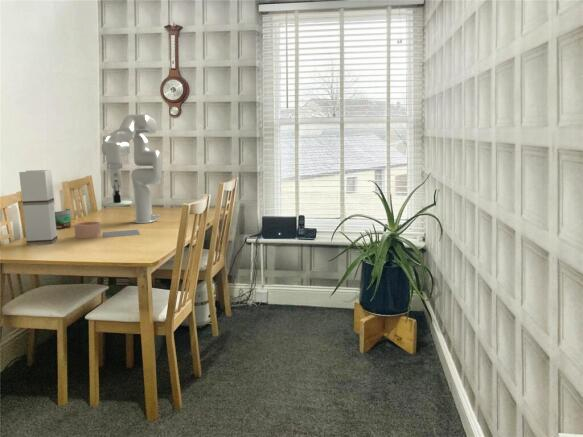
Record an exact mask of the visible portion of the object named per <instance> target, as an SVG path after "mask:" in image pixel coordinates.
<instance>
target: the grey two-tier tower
mask: <svg viewBox="0 0 583 437" xmlns="http://www.w3.org/2000/svg"><path fill="white" fill-rule="evenodd" d="M18 175H19V182H20V184H19V185H20V192H21V201H22V202H21V203H22V204H21V205H22V210H23V211H22V212H23V221H24V230H25V231H24V232H25V240H26V246H32V245H31V244H38V245H53V244H54V243H55V242H57V241H58V240H59V238H58V235H57V234H58V232H57V229H56V222H55V212H56V211H55V197H54V186H53V185H54V184H53V174H52V169H36V170H33V169H31V170H25V171H19V172H18ZM56 240H57V241H56ZM53 242H54V243H53Z"/></svg>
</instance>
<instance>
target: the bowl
mask: <svg viewBox="0 0 583 437" xmlns="http://www.w3.org/2000/svg"><path fill="white" fill-rule="evenodd" d="M74 233H75V234H74V235H75V238H76V239H93V238H98V237H100V236H102V235H101V233H102V232H101V222H100V221H81V222H77V223H75V224H74Z"/></svg>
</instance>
